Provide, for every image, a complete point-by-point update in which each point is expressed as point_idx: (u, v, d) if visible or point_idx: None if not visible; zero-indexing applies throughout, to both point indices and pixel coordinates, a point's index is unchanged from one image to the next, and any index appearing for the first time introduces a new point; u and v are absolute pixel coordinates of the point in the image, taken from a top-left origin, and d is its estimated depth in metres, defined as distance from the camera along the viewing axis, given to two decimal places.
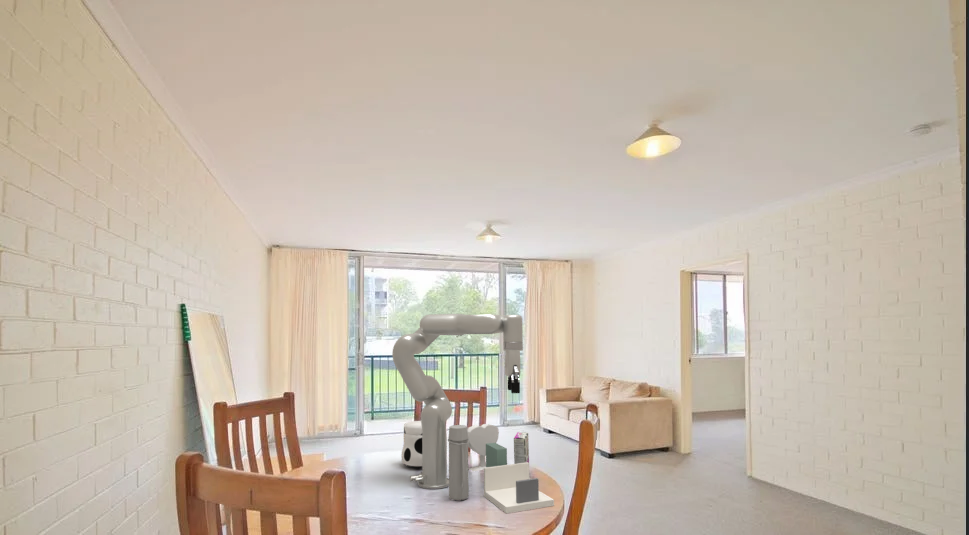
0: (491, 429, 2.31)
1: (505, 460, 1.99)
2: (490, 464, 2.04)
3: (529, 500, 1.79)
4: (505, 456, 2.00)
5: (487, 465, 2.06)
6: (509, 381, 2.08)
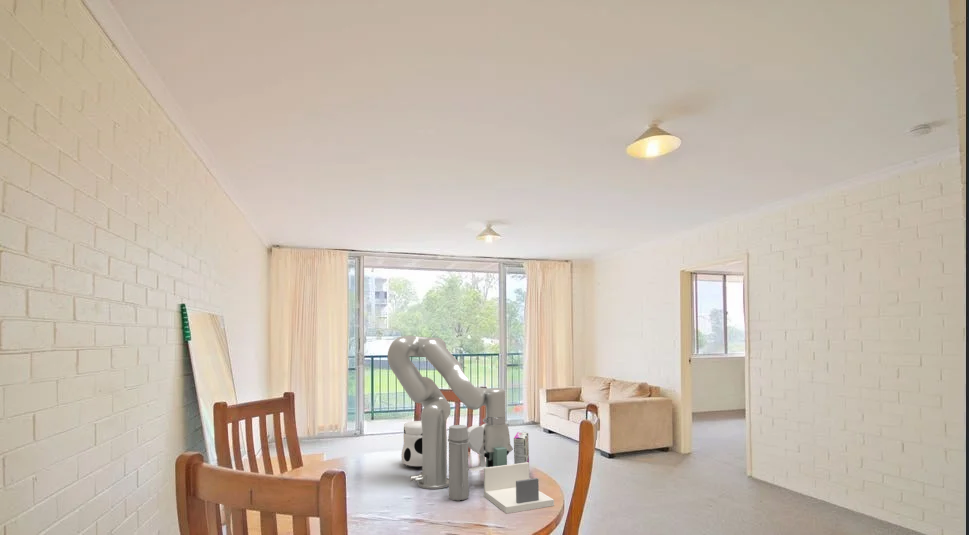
0: None
1: (505, 460, 1.99)
2: None
3: (529, 500, 1.79)
4: (505, 456, 2.00)
5: None
6: None
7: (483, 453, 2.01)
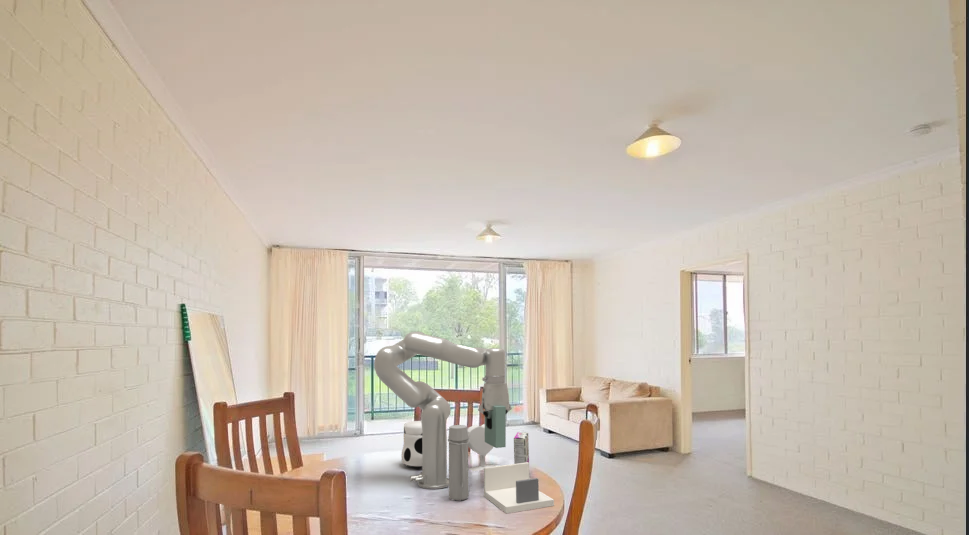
0: None
1: (504, 418, 2.01)
2: None
3: (529, 500, 1.79)
4: (504, 414, 2.01)
5: None
6: None
7: (482, 411, 2.03)
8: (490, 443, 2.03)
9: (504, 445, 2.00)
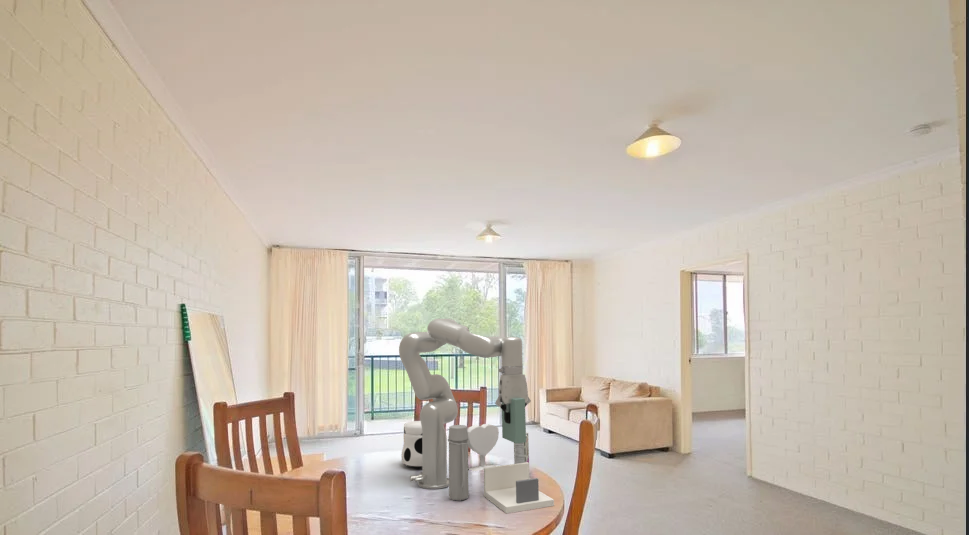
0: (491, 429, 2.31)
1: (523, 411, 1.87)
2: None
3: (529, 500, 1.79)
4: (523, 407, 1.88)
5: (503, 418, 1.94)
6: None
7: (500, 404, 1.89)
8: (509, 439, 1.90)
9: (524, 440, 1.86)
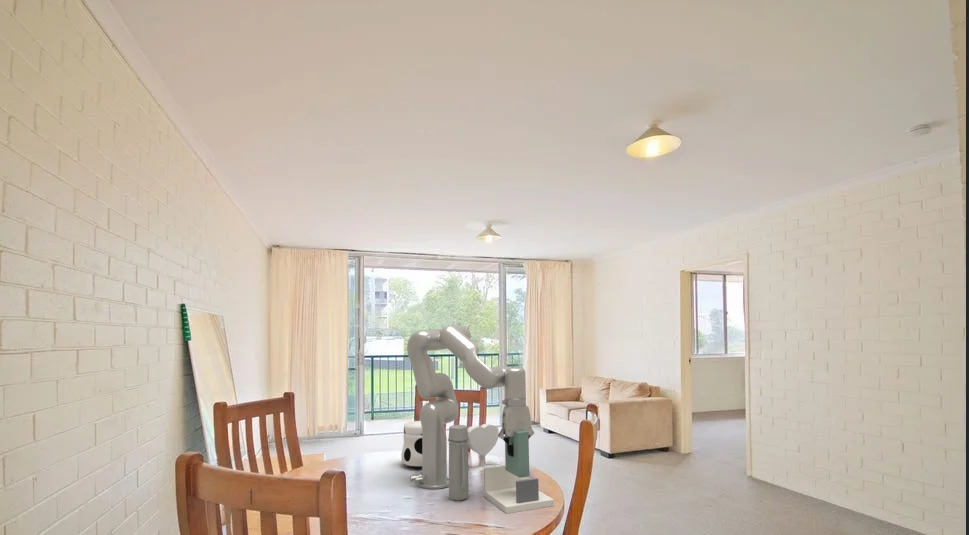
0: (491, 429, 2.31)
1: (527, 444, 1.84)
2: None
3: (529, 500, 1.79)
4: (527, 440, 1.84)
5: None
6: None
7: (503, 437, 1.86)
8: (512, 472, 1.86)
9: (528, 474, 1.83)
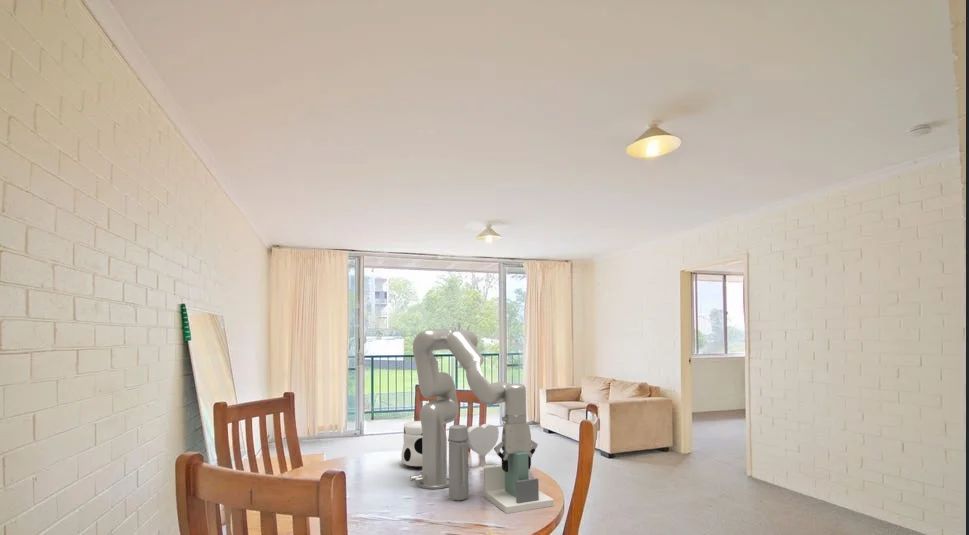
0: (491, 429, 2.31)
1: (526, 466, 1.83)
2: (510, 470, 1.88)
3: (529, 500, 1.79)
4: (526, 462, 1.84)
5: None
6: None
7: (498, 451, 1.85)
8: (511, 493, 1.86)
9: None
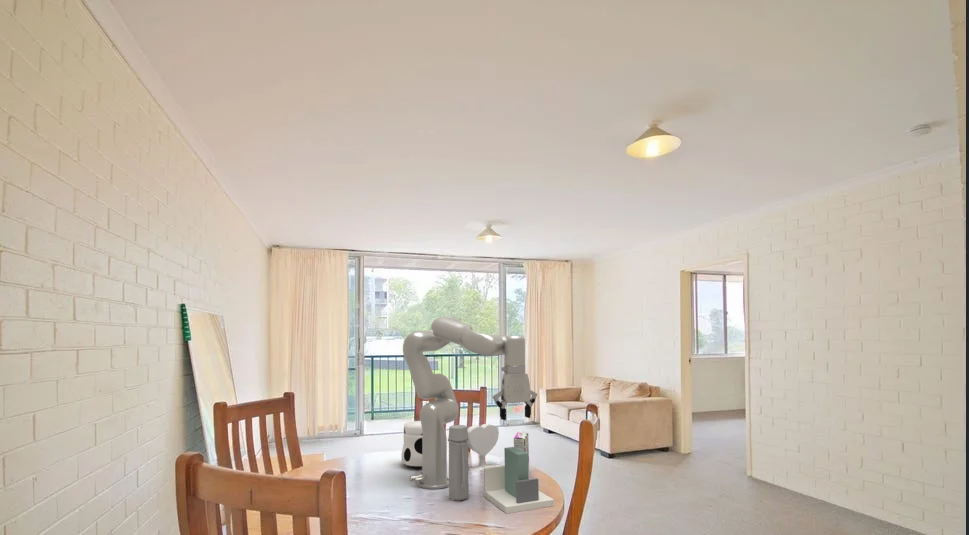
0: (491, 429, 2.31)
1: (526, 466, 1.83)
2: (510, 470, 1.88)
3: (529, 500, 1.79)
4: (526, 462, 1.84)
5: (506, 471, 1.90)
6: None
7: (496, 399, 1.87)
8: (511, 493, 1.86)
9: None
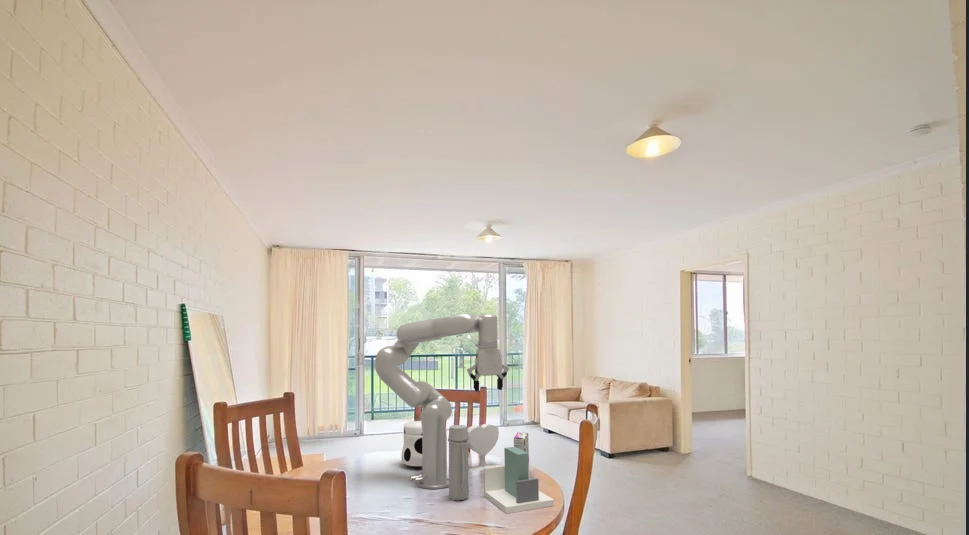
0: (491, 429, 2.31)
1: (526, 466, 1.83)
2: (510, 470, 1.88)
3: (529, 500, 1.79)
4: (526, 462, 1.84)
5: (506, 471, 1.90)
6: None
7: (470, 372, 2.03)
8: (511, 493, 1.86)
9: None
